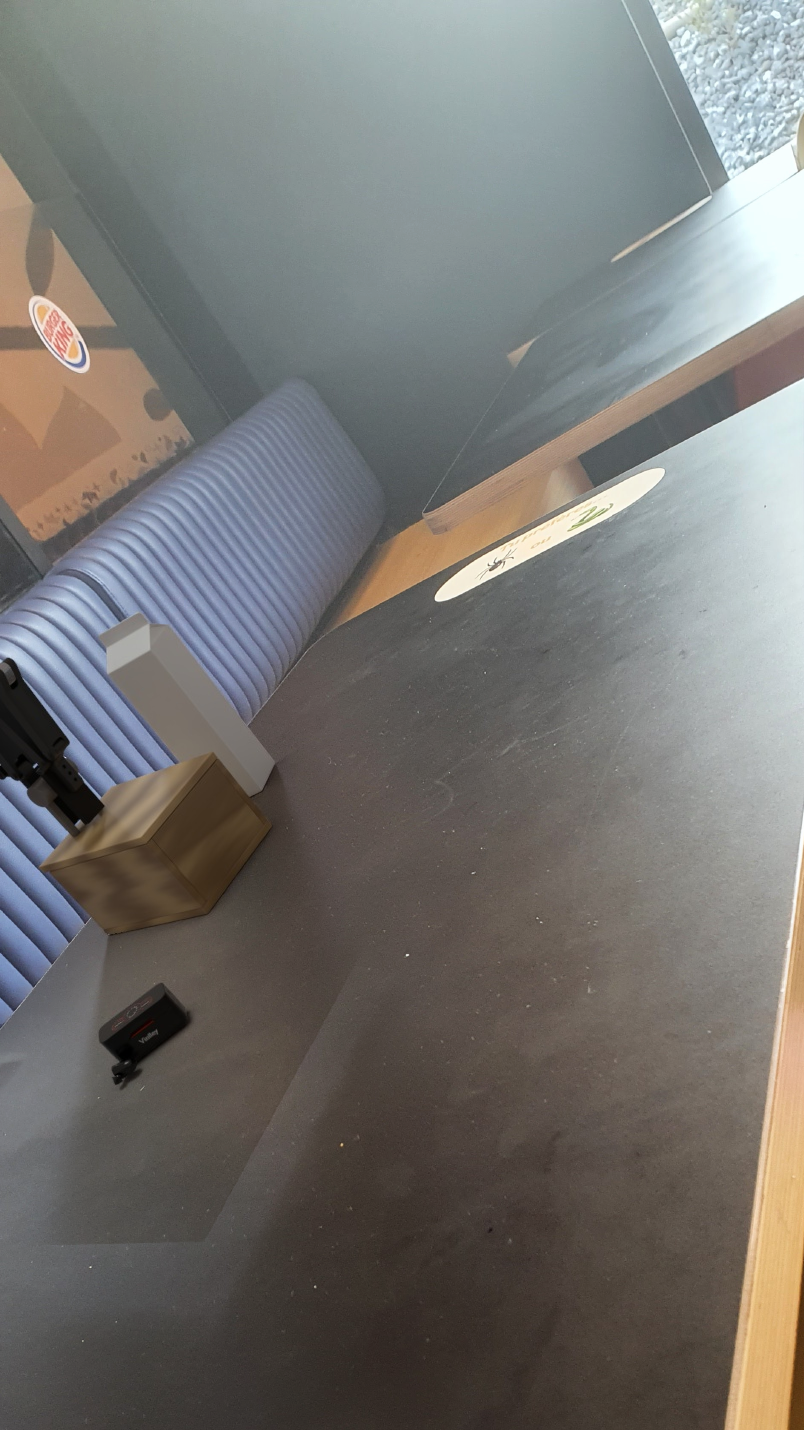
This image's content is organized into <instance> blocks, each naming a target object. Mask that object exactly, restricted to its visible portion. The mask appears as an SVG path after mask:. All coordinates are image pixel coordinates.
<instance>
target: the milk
mask: <svg viewBox="0 0 804 1430" xmlns="http://www.w3.org/2000/svg"><path fill="white" fill-rule="evenodd" d="M97 639H98V641H99V642H101V644H102V645H103V646H104V648H105V650H106V651H105V653H106V655H105V656H106V675H107V676H108V678H110V680H111V681H112V682H113V683H114V685H115V686H116V688H117V689H119V691H120V692H121V693H122V694H123V696H125V699H127V701H128V702H129V703H130V704H131V706H132V707H133V708H134V709H135V710H136V712H137V713H138V714H139V715H140V716H141V717H142V719H143V720H144V721H145V722H146V724H147V725H148V726H149V727H150V729H151V730H152V731H153V732H154V733H155V734H156V736H157V737H158V738H159V740H161V742H162V744H164V745H165V746H166V748H167V749H168V751H170V753H171V755H173V756H174V757H175V759H176V760H177V762H178V763H181V762H184V761H187V760H190V759H193V758H196V757H199V756H201V755H204V754H207V753H210V752H214V753H215V755H216V756H217V757H218V758H217V759H219V760H220V761H221V762H222V763H223V765H224V766H225V767H226V768H227V770H228V771H229V772H230V773H231V775H232V776H233V777H234V778H235V780H236V781H237V782H238V783H239V785H240V786H241V787H242V788H243V790H244V791H245V792H246V793H247V795H248V796H249V797H250V798H251V797H253V796H254V795H257V794H259V793H261V792H262V791H263V790H264V788H265V785H266V784H267V782H268V779H269V777H270V776H271V773H272V771H273V769H274V767H275V765H276V761H275V760H274V758H273V757H272V756H271V755H270V753H269V752H268V751H267V750H266V748H265V746H264V745H262V743H261V741H260V740H259V739H258V738H257V737H256V735H255V734H254V732H253V731H252V730H251V728H249V726H248V725H247V724H246V722H245V721H244V720H243V718H242V717H241V716H240V714H239V713H238V712H237V710H236V709H235V708H234V707H233V706H232V704H231V703H230V702H229V700H228V699H227V698H226V696H225V695H224V694H223V692H221V689H220V688H219V687H218V686H217V685H216V683H215V682H214V681H213V679H212V678H211V677H210V675H209V674H208V672H206V671H205V669H204V668H203V667H202V665H201V664H200V662H198V660H197V658H196V657H195V656H194V655H193V654H192V652H191V651H190V650H189V649H188V647H187V646H186V645H185V643H184V642H183V641H182V640H181V638H180V637H179V635H178V634H177V633H176V631H175V630H174V629H173V628H172V626H171V625H170V624H165V623H156V622H155V623H154V622H149V620H148V619H147V618H146V617H145V615H144V614H143V613H142V612H140V611H137V612H135V613H133V614H132V615H130V616H129V617H127V618H125V619H123V620H121V621H120V622H118V623H117V624H114V625H113V626H112V627H110V628H108V629H106V630H105V631H103V632H102V633H100V634H98V637H97Z"/></svg>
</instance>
